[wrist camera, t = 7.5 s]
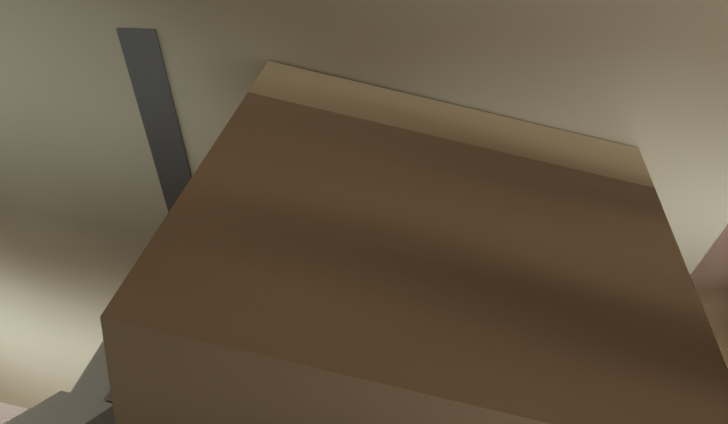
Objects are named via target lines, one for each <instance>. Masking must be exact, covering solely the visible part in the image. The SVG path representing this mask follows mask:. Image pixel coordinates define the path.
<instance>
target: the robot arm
mask: <svg viewBox="0 0 728 424" xmlns="http://www.w3.org/2000/svg"><path fill="white" fill-rule="evenodd" d="M4 424H115V419H114V412H113V405H112V398H111V391H110V384H109V377H108V370H107V362H106V355H105V348H104V341H102V343H101V345H100V346H99V348H98V349H97V351H96V352H95V354H94V356H93V357H92V359H91V360H90V362H89V363H88V365H87V366H86V368H85V370H84V371H83V373H82V374H81V376H80V377H79V379H78V381H77V382H76V384H75V385H74V387H73V388H72V390H71V392H65V391H59V392H57V393H56V394H54V395H52V396H50V397H49V398H47V399H45V400H44V401H42V402H40V403H38V404H37V405H35V406H33V407H32V408H30V409H28V410H26V411H25V412H23V413H21V414H19V415H18V416H16V417H14V418H13V419H11V420H9V421H7V422H6V423H4Z"/></svg>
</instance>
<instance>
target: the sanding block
mask: <svg viewBox="0 0 728 424" xmlns="http://www.w3.org/2000/svg"><path fill="white" fill-rule="evenodd" d="M100 320H101V327H102V334H103V341H104V348H105V355H106V362H107V370H108V377H109V384H110V391H111V398H112V405H113V412H114V419H115V424H728V369H727V366H726V364H725V361H724V359H723V356H722V354H721V351H720V349H719V347H718V344H717V342H716V339H715V337H714V334H713V332H712V329H711V327H710V324H709V322H708V319H707V317H706V314H705V312H704V309H703V307H702V304H701V302H700V299H699V297H698V294H697V292H696V289H695V287H694V284H693V282H692V279H691V277H690V274H689V272H688V269H687V267H686V264H685V262H684V259H683V257H682V254H681V252H680V249H679V247H678V244H677V242H676V239H675V237H674V234H673V232H672V229H671V227H670V225H669V222H668V220H667V217H666V215H665V212H664V210H663V207H662V205H661V202H660V200H659V197H658V195H657V192H656V190H655V187H654V185H653V182H652V180H651V177H650V175H649V172H648V170H647V167H646V165H645V162H644V160H643V157H642V155H641V152H640V150H639V148H636V147H632V146H627V145H623V144H619V143H615V142H610V141H606V140H602V139H598V138H593V137H589V136H585V135H581V134H576V133H572V132H568V131H564V130H560V129H555V128H551V127H547V126H543V125H538V124H534V123H530V122H526V121H521V120H517V119H513V118H509V117H504V116H500V115H496V114H492V113H487V112H483V111H479V110H475V109H471V108H466V107H462V106H458V105H454V104H449V103H445V102H441V101H437V100H432V99H428V98H424V97H420V96H415V95H411V94H407V93H403V92H398V91H394V90H390V89H386V88H382V87H377V86H373V85H369V84H365V83H360V82H356V81H352V80H348V79H343V78H339V77H335V76H331V75H326V74H322V73H318V72H314V71H309V70H305V69H301V68H297V67H293V66H288V65H284V64H280V63H276V62H271V61H268V62H267V64H266V65H265V67H264V68H263V70H262V71H261V73H260V74H259V76H258V77H257V79H256V80H255V82H254V83H253V85H252V87H251V88H250V90H249V91H248V93H247V94H246V96H245V97H244V99H243V100H242V102H241V103H240V105H239V106H238V108H237V109H236V111H235V112H234V114H233V115H232V117H231V118H230V120H229V121H228V123H227V124H226V126H225V128H224V129H223V131H222V132H221V134H220V135H219V137H218V138H217V140H216V141H215V143H214V144H213V146H212V147H211V149H210V150H209V152H208V153H207V155H206V156H205V158H204V159H203V161H202V162H201V164H200V165H199V167H198V169H197V170H196V172H195V173H194V175H193V176H192V178H191V179H190V181H189V182H188V184H187V185H186V187H185V188H184V190H183V191H182V193H181V194H180V196H179V197H178V199H177V200H176V202H175V203H174V205H173V206H172V208H171V210H170V211H169V213H168V214H167V216H166V217H165V219H164V220H163V222H162V223H161V225H160V226H159V228H158V229H157V231H156V232H155V234H154V235H153V237H152V238H151V240H150V241H149V243H148V244H147V246H146V247H145V249H144V251H143V252H142V254H141V255H140V257H139V258H138V260H137V261H136V263H135V264H134V266H133V267H132V269H131V270H130V272H129V273H128V275H127V276H126V278H125V279H124V281H123V282H122V284H121V285H120V287H119V288H118V290H117V292H116V293H115V295H114V296H113V298H112V299H111V301H110V302H109V304H108V305H107V307H106V308H105V310H104V311H103V313H102V314H101V316H100Z"/></svg>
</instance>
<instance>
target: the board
mask: <svg viewBox="0 0 728 424" xmlns="http://www.w3.org/2000/svg"><path fill="white" fill-rule="evenodd" d="M268 61H271V62H276V63H280V64H284V65H288V66H293V67H297V68H301V69H305V70H309V71H314V72H318V73H322V74H326V75H331V76H335V77H339V78H343V79H348V80H352V81H356V82H360V83H365V84H369V85H373V86H377V87H382V88H386V89H390V90H394V91H398V92H403V93H407V94H411V95H415V96H420V97H424V98H428V99H432V100H437V101H441V102H445V103H449V104H454V105H458V106H462V107H466V108H471V109H475V110H479V111H483V112H487V113H492V114H496V115H500V116H504V117H509V118H513V119H517V120H521V121H526V122H530V123H534V124H538V125H543V126H547V127H551V128H555V129H560V130H564V131H568V132H572V133H576V134H581V135H585V136H589V137H593V138H598V139H602V140H606V141H610V142H615V143H619V144H623V145H627V146H632V147H636V148H639V150H640V152H641V155H642V157H643V160H644V162H645V165H646V167H647V170H648V172H649V175H650V177H651V180H652V182H653V185H654V187H655V190H656V192H657V195H658V197H659V200H660V202H661V205H662V207H663V210H664V212H665V215H666V217H667V220H668V222H669V225H670V227H671V229H672V232H673V234H674V237H675V239H676V242H677V244H678V247H679V249H680V252H681V254H682V257H683V259H684V262H685V264H686V267H687V269H688V272H689V274H690V275H691V274H692V272H693V271H694V270H695V268H696V267H697V265H698V264H699V263H700V261H701V260H702V259H703V257H704V256H705V255H706V253H707V252H708V250H709V249H710V248H711V246H712V245H713V244H714V242H715V241H716V240H717V238H718V237H719V236H720V234H721V233H722V231H723V230H724V229H725V227H726V226H727V225H728V0H0V402H3V403H8V404H12V405H16V406H20V407H24V408H28V409H30V408H32V407H33V406H35V405H37V404H38V403H40V402H42V401H44V400H45V399H47V398H49V397H50V396H52V395H54V394H56V393H57V392H59V391H65V392H71V390H72V388H73V387H74V385H75V384H76V382H77V381H78V379H79V377H80V376H81V374H82V373H83V371H84V370H85V368H86V366H87V365H88V363H89V362H90V360H91V359H92V357H93V356H94V354H95V352H96V351H97V349H98V348H99V346H100V345H101V343H102V341H103V334H102V327H101V320H100V316H101V314H102V313H103V311H104V310H105V308H106V307H107V305H108V304H109V302H110V301H111V299H112V298H113V296H114V295H115V293H116V292H117V290H118V288H119V287H120V285H121V284H122V282H123V281H124V279H125V278H126V276H127V275H128V273H129V272H130V270H131V269H132V267H133V266H134V264H135V263H136V261H137V260H138V258H139V257H140V255H141V254H142V252H143V251H144V249H145V247H146V246H147V244H148V243H149V241H150V240H151V238H152V237H153V235H154V234H155V232H156V231H157V229H158V228H159V226H160V225H161V223H162V222H163V220H164V219H165V217H166V216H167V214H168V213H169V211H170V210H171V208H172V206H173V205H174V203H175V202H176V200H177V199H178V197H179V196H180V194H181V193H182V191H183V190H184V188H185V187H186V185H187V184H188V182H189V181H190V179H191V178H192V176H193V175H194V173H195V172H196V170H197V169H198V167H199V165H200V164H201V162H202V161H203V159H204V158H205V156H206V155H207V153H208V152H209V150H210V149H211V147H212V146H213V144H214V143H215V141H216V140H217V138H218V137H219V135H220V134H221V132H222V131H223V129H224V128H225V126H226V124H227V123H228V121H229V120H230V118H231V117H232V115H233V114H234V112H235V111H236V109H237V108H238V106H239V105H240V103H241V102H242V100H243V99H244V97H245V96H246V94H247V93H248V91H249V90H250V88H251V87H252V85H253V83H254V82H255V80H256V79H257V77H258V76H259V74H260V73H261V71H262V70H263V68H264V67H265V65H266V64H267V62H268Z"/></svg>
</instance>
